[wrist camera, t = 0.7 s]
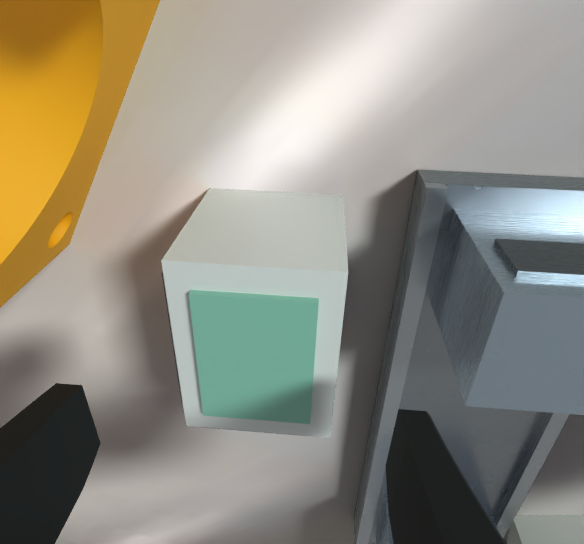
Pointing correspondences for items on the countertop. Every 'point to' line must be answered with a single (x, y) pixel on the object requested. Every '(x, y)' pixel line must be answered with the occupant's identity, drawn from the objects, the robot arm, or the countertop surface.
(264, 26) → the countertop surface
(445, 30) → the countertop surface
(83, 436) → the robot arm
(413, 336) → the rail
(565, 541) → the block
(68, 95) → the yellow stepped block
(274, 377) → the block
